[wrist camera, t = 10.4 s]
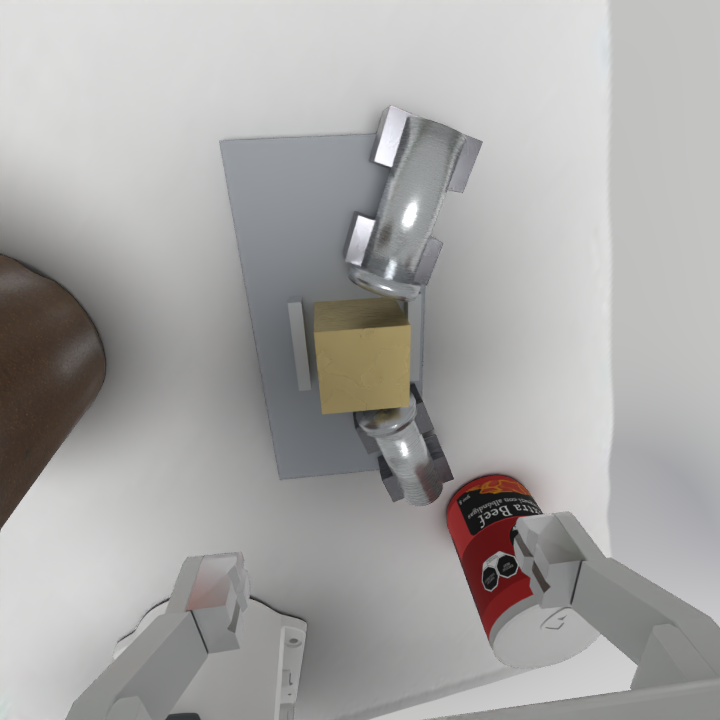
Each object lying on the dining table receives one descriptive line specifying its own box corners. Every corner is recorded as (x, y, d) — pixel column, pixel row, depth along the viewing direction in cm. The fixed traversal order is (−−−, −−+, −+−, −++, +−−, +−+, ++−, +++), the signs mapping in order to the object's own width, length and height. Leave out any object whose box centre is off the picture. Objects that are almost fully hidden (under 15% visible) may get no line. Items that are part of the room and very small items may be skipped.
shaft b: (382, 112, 20) (398, 98, 16) (465, 144, 21) (499, 138, 17) (338, 265, 23) (342, 285, 19) (412, 286, 24) (430, 309, 20)
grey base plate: (416, 457, 32) (422, 476, 30) (280, 470, 31) (278, 491, 29) (425, 133, 22) (435, 129, 20) (223, 141, 21) (213, 139, 19)
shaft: (444, 456, 31) (463, 499, 27) (388, 478, 31) (398, 523, 27) (410, 373, 27) (426, 409, 23) (347, 399, 28) (352, 439, 24)
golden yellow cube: (393, 296, 25) (410, 325, 20) (394, 366, 27) (409, 406, 22) (314, 302, 24) (313, 332, 20) (321, 372, 27) (322, 414, 22)
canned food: (536, 471, 34) (625, 594, 24) (515, 535, 38) (585, 665, 28) (451, 472, 33) (508, 601, 23) (437, 538, 37) (482, 674, 27)
